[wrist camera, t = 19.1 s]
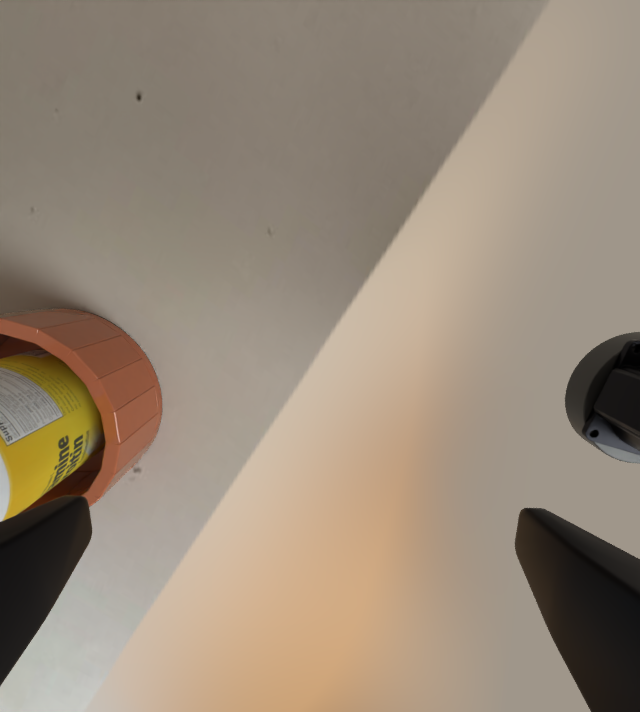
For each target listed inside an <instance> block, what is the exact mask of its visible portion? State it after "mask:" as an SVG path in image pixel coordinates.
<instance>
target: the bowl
mask: <svg viewBox="0 0 640 712" xmlns="http://www.w3.org/2000/svg"><path fill="white" fill-rule="evenodd" d="M42 348H43V349H45V350H46V351H48V352H50V353H51V354H53V355H54V356H56V357H58V358H59V359H61V360H62V361H64V362H65V363H66V364H67V365H68V366H69V367H70V369H71V370H72V371H73V372H74V373H75V374H76V375H77V376H78V377H79V378H80V379H81V380H82V381H83V382H84V384H85V385H86V386H87V388H88V390H89V392H90V394H91V396H92V398H93V400H94V402H95V404H96V406H97V408H98V410H99V412H100V414H101V418H102V424H103V430H104V435H105V441H106V443H105V447H104V448H103V449H102V450H101V451H100V452H98V453H97V454H96V455H94V456H93V457H92V458H90V459H89V460H88V461H87V462H85V463H84V464H83V465H81V466H80V467H79V468H77V469H76V470H75V471H74V472H72V473H71V474H70V475H69V476H67V477H66V478H65V479H63V480H62V481H61V482H60V483H58V484H57V485H56V486H54V487H53V488H52V489H50V490H49V491H48V492H47V493H45V494H44V495H43V496H41V497H40V498H39V499H38V500H36V501H35V502H34V503H33V504H31V505H30V506H29V507H27V508H26V509H25V510H24V511H22V512H21V513H23V512H25V511H28V510H30V509H32V508H35V507H37V506H40V505H42V504H45V503H47V502H49V501H52V500H54V499H57V498H59V497H61V496H66V495H72V496H84V497H85V498H86V499H87V500H88V504H89V507H90V506H92V505H93V504H94V503H96V502H97V501H98V500H99V499H100V498H101V497H102V496H103V495H104V494H105V493H106V492H108V491H109V490H110V489H111V488H112V487H113V486H114V485H115V484H116V483H117V482H118V481H119V480H120V479H121V478H122V477H123V476H124V475H125V474H126V473H127V472H128V471H129V470H130V469H131V468H132V467H133V466H134V465H135V464H136V463H137V462H138V461H139V460H140V459H141V457H142V456H143V454H144V453H145V452H146V451H147V450H148V449H149V447H150V446H151V444H152V443H153V441H154V439H155V437H156V434H157V432H158V429H159V426H160V422H161V415H162V396H161V390H160V386H159V382H158V379H157V376H156V374H155V371H154V369H153V367H152V365H151V363H150V361H149V360H148V358H147V356H146V355H145V353H144V352H143V351H142V349H141V348H140V347H139V346H138V345H137V344H136V342H135V341H134V340H133V339H132V338H131V337H130V336H128V335H127V334H126V333H125V332H124V331H122V330H121V329H120V328H118V327H117V326H115V325H114V324H112V323H111V322H109V321H107V320H105V319H103V318H101V317H99V316H96V315H94V314H91V313H88V312H84V311H80V310H75V309H66V308H52V309H38V310H29V311H21V312H13V313H6V314H0V359H2V358H5V357H9V356H13V355H17V354H20V353H24V352H28V351H32V350H36V349H42Z"/></svg>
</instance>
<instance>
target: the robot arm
mask: <svg viewBox="0 0 640 712" xmlns="http://www.w3.org/2000/svg"><path fill="white" fill-rule="evenodd" d="M634 346H637V347H636V350H635V351H633V348H634ZM592 430H594V432H593V433H592V434H591V435H590V432H591V431H592ZM582 435H583V436H584V437H585V438H586V439H588V440H590V441H593V442H596V443H599V444H603V445H606V446H610V447H613V448H616V449H620V450H623V451H627V452H630V453H633V454H637V455H640V340H636V339H632V340H629V341H627V342H626V343H625V345H624V346H623V348H622V350H621V352H620V354H619V356H618V358H617V360H616V362H615V364H614V366H613V368H612V370H611V372H610V374H609V376H608V378H607V380H606V382H605V384H604V386H603V388H602V390H601V392H600V394H599V396H598V398H597V400H596V402H595V404H594V406H593V408H592V410H591V412H590V414H589V416H588V418H587V420H586V422H585V424H584V426H583V428H582ZM91 536H92V525H91V518H90V511H89V504H88V500H87V499H86V498H85V497H84V496H72V495H66V496H61V497H59V498H57V499H54V500H52V501H49V502H47V503H45V504H42V505H40V506H37V507H35V508H32V509H30V510H28V511H25V512H23V513H20V514H18V515H16V516H13V517H11V518H8V519H6V520H4V521H1V522H0V686H1V684H2V683H3V681H4V680H5V678H6V677H7V675H8V674H9V672H10V671H11V670H12V668H13V667H14V665H15V664H16V662H17V661H18V659H19V658H20V656H21V655H22V653H23V652H24V650H25V649H26V648H27V646H28V645H29V643H30V642H31V640H32V639H33V637H34V636H35V634H36V633H37V631H38V630H39V628H40V627H41V625H42V624H43V622H44V621H45V619H46V617H47V616H48V614H49V612H50V611H51V609H52V607H53V606H54V604H55V602H56V600H57V599H58V597H59V595H60V593H61V592H62V590H63V588H64V586H65V585H66V583H67V581H68V579H69V578H70V576H71V574H72V572H73V571H74V569H75V567H76V565H77V563H78V562H79V560H80V558H81V556H82V555H83V553H84V551H85V549H86V548H87V546H88V544H89V542H90V539H91ZM515 549H516V554H517V557H518V559H519V562H520V564H521V566H522V569H523V571H524V573H525V576H526V578H527V580H528V583H529V585H530V587H531V590H532V592H533V595H534V597H535V599H536V602H537V604H538V607H539V609H540V611H541V614H542V616H543V618H544V621H545V623H546V625H547V627H548V630H549V632H550V634H551V636H552V638H553V640H554V642H555V644H556V646H557V648H558V650H559V652H560V654H561V656H562V658H563V660H564V661H565V663H566V665H567V667H568V669H569V671H570V673H571V675H572V676H573V678H574V680H575V682H576V684H577V686H578V688H579V690H580V691H581V693H582V695H583V697H584V699H585V701H586V703H587V705H588V707H589V709H590V710H591V712H640V559H638V558H636V557H634V556H632V555H630V554H629V553H627V552H625V551H623V550H621V549H619V548H617V547H615V546H613V545H612V544H610V543H607V542H606V541H604V540H602V539H600V538H598V537H596V536H594V535H593V534H591V533H589V532H587V531H585V530H583V529H581V528H579V527H578V526H576V525H574V524H572V523H570V522H568V521H566V520H564V519H562V518H561V517H559V516H557V515H555V514H553V513H551V512H549V511H547V510H545V509H542V508H524V509H522V510H521V512H520V514H519V519H518V526H517V532H516V538H515Z"/></svg>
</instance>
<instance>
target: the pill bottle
mask: <svg viewBox="0 0 640 712" xmlns="http://www.w3.org/2000/svg"><path fill="white" fill-rule="evenodd" d="M105 443H106V441H105V435H104V430H103V424H102V418H101V414H100V412H99V410H98V408H97V406H96V404H95V402H94V400H93V398H92V396H91V394H90V392H89V390H88V388H87V386H86V385H85V384H84V382H83V381H82V380H81V379H80V378H79V377H78V376H77V375H76V374H75V373H74V372H73V371H72V370H71V369H70V367H69V366H68V365H67V364H66V363H65V362H64V361H62V360H61V359H59V358H58V357H56V356H54V355H53V354H51V353H50V352H48V351H46V350H45V349H43V348H42V349H36V350H32V351H28V352H24V353H20V354H17V355H13V356H9V357H5V358H2V359H0V522H1V521H4V520H6V519H8V518H11V517H13V516H16V515H18V514H20V513H21V512H22V511H24V510H25V509H26V508H27V507H29V506H30V505H31V504H33V503H34V502H35V501H36V500H38V499H39V498H40V497H41V496H43V495H44V494H45V493H47V492H48V491H49V490H50V489H52V488H53V487H54V486H56V485H57V484H58V483H60V482H61V481H62V480H63V479H65V478H66V477H67V476H69V475H70V474H71V473H72V472H74V471H75V470H76V469H77V468H79V467H80V466H81V465H83V464H84V463H85V462H87V461H88V460H89V459H90V458H92V457H93V456H94V455H96V454H97V453H98V452H100V451H101V450H102V449H103V448H104V447H105Z"/></svg>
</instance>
